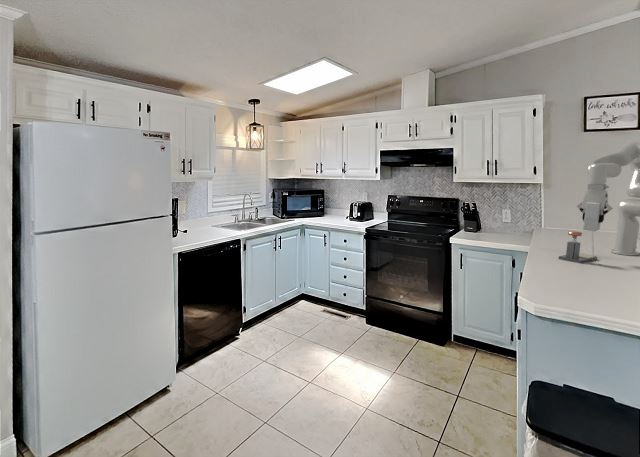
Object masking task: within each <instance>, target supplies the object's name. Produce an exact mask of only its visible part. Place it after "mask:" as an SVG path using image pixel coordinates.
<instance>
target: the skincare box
mask: <svg viewBox="0 0 640 457" xmlns="http://www.w3.org/2000/svg"><path fill="white" fill-rule="evenodd" d="M599 215H600V204H599V203H586V211H585V218H584V221H583V226H582V231H589V232H597V231H599V230H601V223H599V222H598V221H599Z"/></svg>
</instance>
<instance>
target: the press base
mask: <svg viewBox="0 0 640 457" xmlns="http://www.w3.org/2000/svg"><path fill="white" fill-rule="evenodd" d="M580 249H581V242H579V241H576V243H572V240H570V241H567V244H566V251H565V252H566V253H565V254H563V255H558V260H562V261H567V262H572V263H577V264H585V263H588V262H593V261H596V260H598V256H596V255H592V254H587V253H581V250H580Z"/></svg>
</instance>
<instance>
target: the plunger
mask: <svg viewBox="0 0 640 457" xmlns="http://www.w3.org/2000/svg"><path fill="white" fill-rule="evenodd" d="M567 235H569V236H571V241H572V243H576V242H578V241H577V239H578V237H581V236H582V235H583V232H581V231H575V230H573V231H571V230H569V231H567Z"/></svg>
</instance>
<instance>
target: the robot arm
mask: <svg viewBox="0 0 640 457" xmlns="http://www.w3.org/2000/svg"><path fill="white" fill-rule="evenodd" d="M627 165H629V166H630V168H631V175H630V179H629V182H628V185H627V187H626V195H627V196H628V197H631V198H625V199H622V200H621V201H619V202H618V206H617V213H618V214H617V215H618V220H617V227H616V234H615V235H616V236H615V243H614V244H615V245H614V248H613V249H612V248H611V249H610V253H613V254H617V255H621V256H640V253H639V252H638V251H636V250H637V248H638V247H637V244H638V240H639V233H640V232H639V230H640V222H639V219H638V218H637V217H640V141H632V142H629V143H627V144H626V145H624V146H623V147H622V148H621V149H619V150H618V151H616V152H615V153H611V154H608V155H606V156H601V157H599V158H597V159H595V160H594V161H593V162H591V164H589V166H588V168H587V170H586V174H587V175H588V182H587V189H585V191H584V194H583V198H582V201H581V202H580V203H579V204H577V206H576V207H577V208H578V210H579V211H580V212H581V214H582V218H581V219H582V221H583V222H584V218H585V211H586V203H599V204H600V215H599V221H598V222H599V223H600V224H601V223H603V222H604V220H605V216H606V214H607V213H609V212H610V211H612V210H613V207H612V206H611V205H610V204H609V192H608V190H606V189H609V188H610V185H607V178H608V179H611V178H613V179H614V178H617V177H619V176H620V175H621V173H622V167H625V166H627ZM634 198H635V199H634ZM636 198H638V199H636Z"/></svg>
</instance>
